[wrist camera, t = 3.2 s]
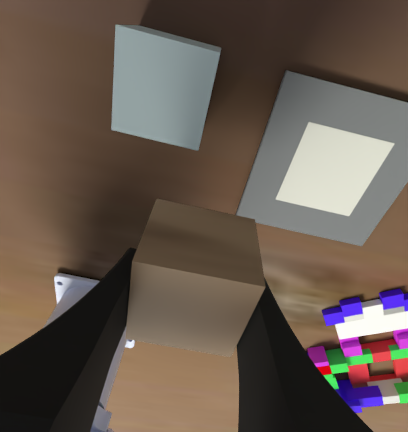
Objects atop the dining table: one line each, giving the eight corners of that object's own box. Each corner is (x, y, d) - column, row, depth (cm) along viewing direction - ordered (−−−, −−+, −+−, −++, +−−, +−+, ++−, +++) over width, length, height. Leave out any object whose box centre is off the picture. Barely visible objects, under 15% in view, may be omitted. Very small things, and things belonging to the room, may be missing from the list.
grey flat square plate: (359, 242, 22) (361, 246, 22) (235, 215, 21) (235, 218, 21) (450, 113, 16) (455, 115, 16) (285, 69, 16) (286, 70, 15)
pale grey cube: (203, 127, 18) (198, 150, 15) (132, 110, 18) (111, 129, 14) (221, 47, 15) (220, 52, 12) (139, 25, 15) (115, 24, 12)
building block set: (522, 258, 22) (581, 304, 19) (492, 383, 33) (526, 429, 29) (226, 318, 29) (226, 361, 25) (278, 407, 39) (283, 447, 35)
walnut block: (229, 285, 15) (230, 357, 12) (146, 269, 15) (125, 338, 12) (254, 219, 13) (265, 286, 9) (156, 198, 12) (132, 261, 9)
